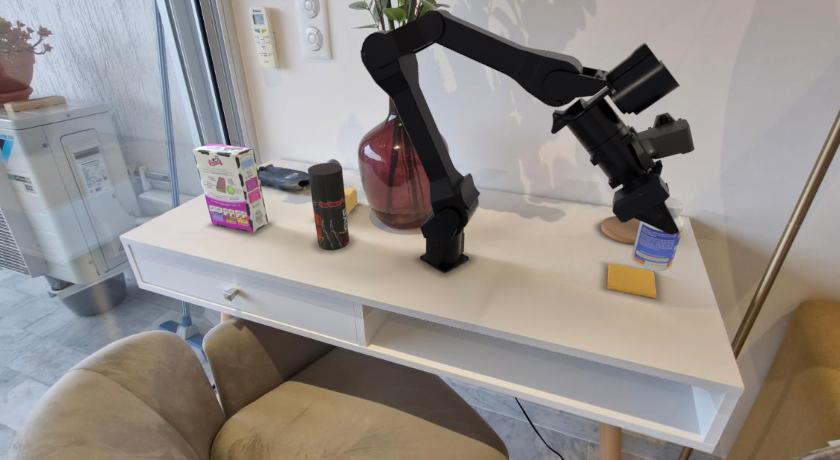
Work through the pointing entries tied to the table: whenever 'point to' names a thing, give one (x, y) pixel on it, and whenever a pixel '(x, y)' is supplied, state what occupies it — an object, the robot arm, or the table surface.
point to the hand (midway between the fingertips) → (673, 223)
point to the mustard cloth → (631, 280)
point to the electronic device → (283, 178)
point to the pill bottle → (658, 241)
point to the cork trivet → (621, 229)
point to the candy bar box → (231, 186)
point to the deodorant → (329, 205)
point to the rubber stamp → (347, 193)
